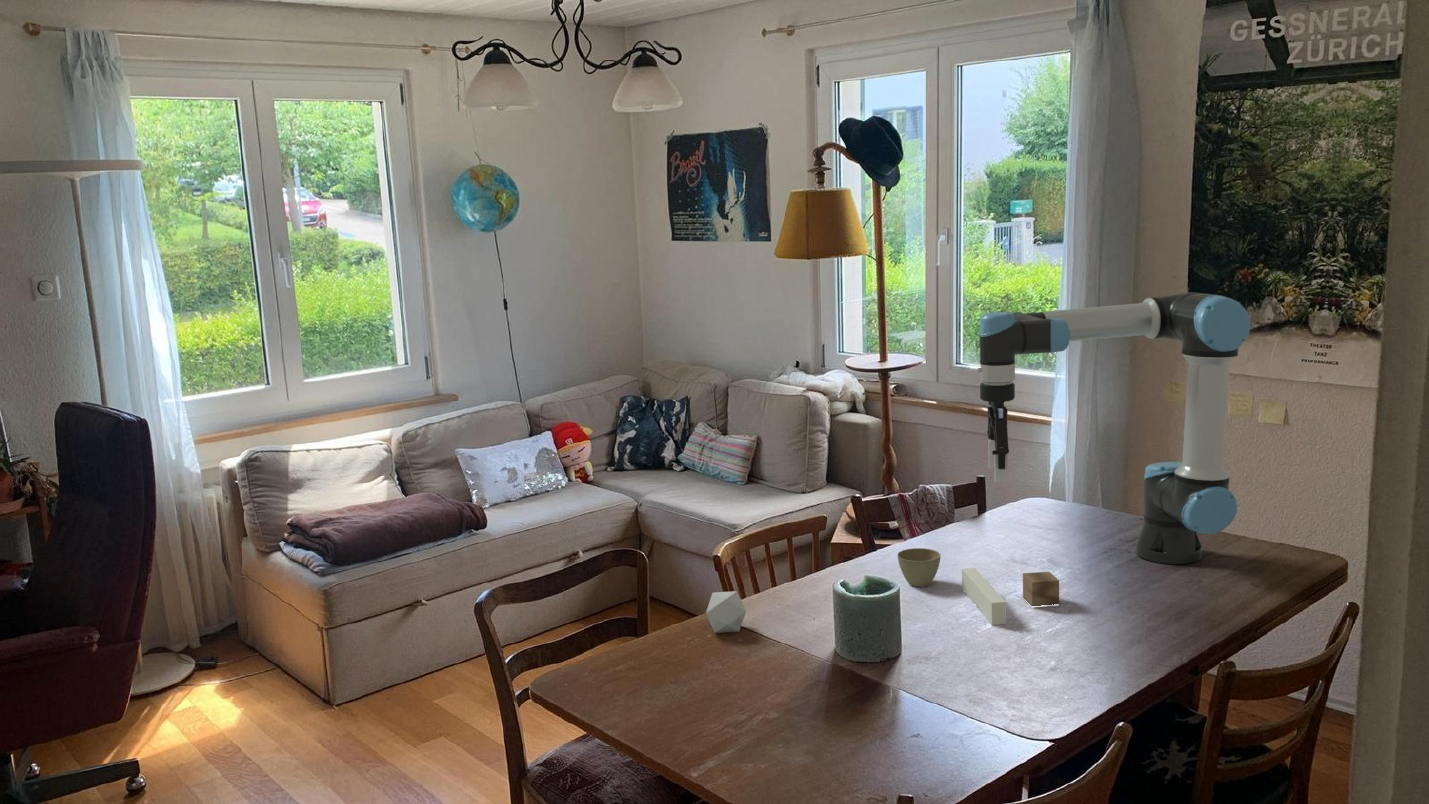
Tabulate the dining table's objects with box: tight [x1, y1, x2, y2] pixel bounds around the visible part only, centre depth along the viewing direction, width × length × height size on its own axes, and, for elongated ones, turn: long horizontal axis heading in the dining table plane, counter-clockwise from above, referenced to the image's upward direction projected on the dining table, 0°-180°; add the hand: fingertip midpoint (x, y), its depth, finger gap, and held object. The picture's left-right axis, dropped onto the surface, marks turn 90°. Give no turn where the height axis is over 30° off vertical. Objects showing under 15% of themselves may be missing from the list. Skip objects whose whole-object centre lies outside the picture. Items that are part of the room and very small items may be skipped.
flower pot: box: [896, 547, 942, 588], centre depth 259 cm, size 10×10×7 cm
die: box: [705, 590, 747, 634], centre depth 236 cm, size 8×9×10 cm
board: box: [961, 567, 1007, 626], centre depth 243 cm, size 3×22×5 cm, turn 4°
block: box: [1022, 571, 1060, 606], centre depth 243 cm, size 6×6×6 cm
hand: (997, 475), depth 249 cm, fingers open, 13 cm apart
